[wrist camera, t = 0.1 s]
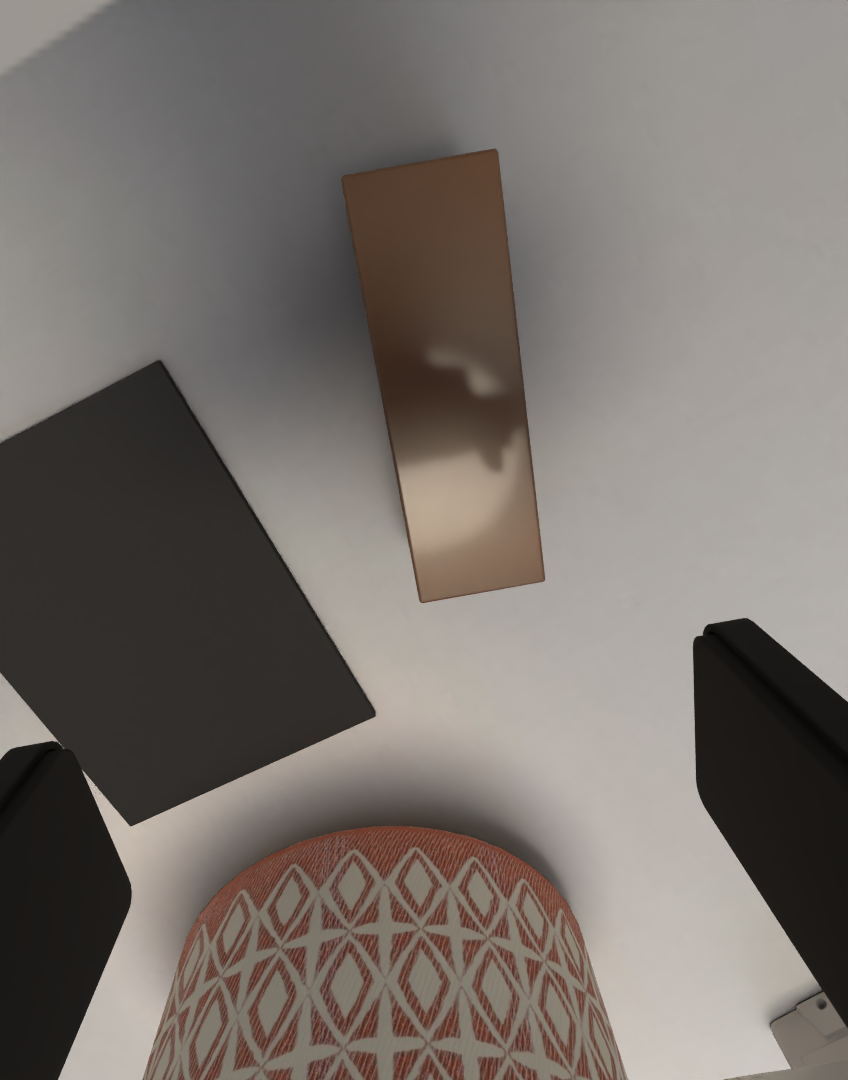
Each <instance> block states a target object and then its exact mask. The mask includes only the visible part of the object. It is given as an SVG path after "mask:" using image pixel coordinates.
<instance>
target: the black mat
mask: <svg viewBox="0 0 848 1080" xmlns="http://www.w3.org/2000/svg"><path fill="white" fill-rule="evenodd" d="M0 673H1V674H2V675H3V676H4V677H5V679H6V680H7V681H8V682H9V683H10V684H11V686H12V687H13V688H14V689H15V690H16V692H17V693H18V694H19V695H20V696H21V698H22V699H23V700H24V701H25V702H26V703H27V705H28V706H29V707H30V708H31V709H32V711H33V712H34V713H35V714H36V715H37V716H38V718H39V719H40V720H41V721H42V722H43V724H44V725H45V726H46V727H47V728H48V729H49V731H50V732H51V733H52V734H53V735H54V737H55V738H56V739H57V740H58V741H59V742H60V744H61V745H62V746H63V747H64V748H65V749H70V750H71V751H72V752H74V754H75V756H76V758H77V760H78V762H79V765H80V767H81V769H82V770H83V771H84V772H85V773H86V774H87V776H88V777H89V778H90V779H91V780H92V782H93V783H94V784H95V785H96V786H97V787H98V789H99V790H100V791H101V792H102V793H103V795H104V796H105V797H106V798H107V799H108V801H109V802H110V803H111V804H112V805H113V806H114V808H115V809H116V810H117V811H118V812H119V814H120V815H121V816H122V817H123V818H124V819H125V821H126V822H127V823H128V824H129V825H130V826H133V825H135V824H137V823H140V822H142V821H144V820H146V819H149V818H151V817H153V816H155V815H157V814H160V813H162V812H164V811H166V810H169V809H171V808H173V807H175V806H177V805H180V804H182V803H184V802H186V801H189V800H191V799H193V798H195V797H197V796H200V795H202V794H204V793H206V792H209V791H211V790H213V789H215V788H217V787H220V786H222V785H224V784H226V783H229V782H231V781H233V780H235V779H237V778H240V777H242V776H244V775H246V774H249V773H251V772H253V771H255V770H257V769H260V768H262V767H264V766H266V765H269V764H271V763H273V762H275V761H277V760H280V759H282V758H284V757H286V756H289V755H291V754H293V753H295V752H297V751H300V750H302V749H304V748H306V747H309V746H311V745H313V744H315V743H317V742H320V741H322V740H324V739H326V738H329V737H331V736H333V735H335V734H337V733H340V732H342V731H344V730H346V729H349V728H351V727H353V726H355V725H357V724H360V723H362V722H364V721H366V720H369V719H371V718H373V717H375V715H376V712H375V711H374V709H373V707H372V706H371V704H370V702H369V701H368V699H367V698H366V696H365V694H364V693H363V691H362V689H361V688H360V686H359V684H358V683H357V681H356V680H355V678H354V676H353V675H352V673H351V671H350V670H349V668H348V666H347V665H346V663H345V662H344V660H343V658H342V657H341V655H340V653H339V652H338V650H337V648H336V647H335V645H334V644H333V642H332V640H331V639H330V637H329V635H328V634H327V632H326V630H325V629H324V627H323V626H322V624H321V622H320V621H319V619H318V617H317V616H316V614H315V613H314V611H313V609H312V608H311V606H310V604H309V603H308V601H307V599H306V598H305V596H304V595H303V593H302V591H301V590H300V588H299V586H298V585H297V583H296V581H295V580H294V578H293V577H292V575H291V573H290V572H289V570H288V568H287V567H286V565H285V563H284V562H283V560H282V559H281V557H280V555H279V554H278V552H277V550H276V549H275V547H274V545H273V544H272V542H271V541H270V539H269V537H268V536H267V534H266V532H265V531H264V529H263V527H262V526H261V524H260V523H259V521H258V519H257V518H256V516H255V514H254V513H253V511H252V509H251V508H250V506H249V505H248V503H247V501H246V500H245V498H244V496H243V495H242V493H241V491H240V490H239V488H238V487H237V485H236V483H235V482H234V480H233V478H232V477H231V475H230V473H229V472H228V470H227V469H226V467H225V465H224V464H223V462H222V460H221V459H220V457H219V456H218V454H217V452H216V451H215V449H214V447H213V446H212V444H211V442H210V441H209V439H208V438H207V436H206V434H205V433H204V431H203V429H202V428H201V426H200V424H199V423H198V421H197V420H196V418H195V416H194V415H193V413H192V411H191V410H190V408H189V406H188V405H187V403H186V402H185V400H184V398H183V397H182V395H181V393H180V392H179V390H178V388H177V387H176V385H175V384H174V382H173V380H172V379H171V377H170V375H169V374H168V372H167V370H166V369H165V367H164V366H163V364H162V362H161V361H157V362H155V363H153V364H151V365H149V366H147V367H145V368H143V369H142V370H140V371H138V372H136V373H134V374H132V375H130V376H128V377H126V378H125V379H123V380H121V381H119V382H117V383H115V384H113V385H111V386H109V387H107V388H106V389H104V390H102V391H100V392H98V393H96V394H94V395H92V396H90V397H89V398H87V399H85V400H83V401H81V402H79V403H77V404H75V405H73V406H72V407H70V408H68V409H66V410H64V411H62V412H60V413H58V414H56V415H54V416H53V417H51V418H49V419H47V420H45V421H43V422H41V423H39V424H37V425H36V426H34V427H32V428H30V429H28V430H26V431H24V432H22V433H20V434H18V435H17V436H15V437H13V438H11V439H9V440H7V441H5V442H3V443H1V444H0Z"/></svg>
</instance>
